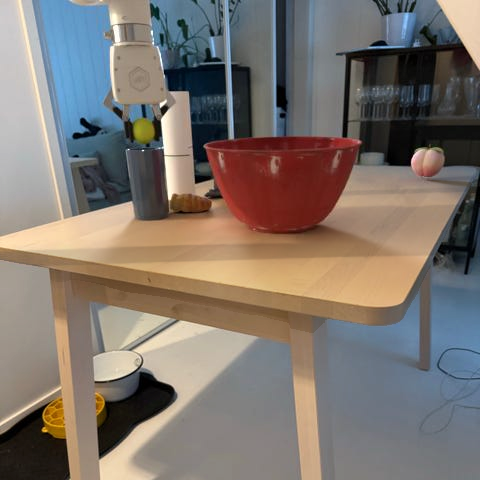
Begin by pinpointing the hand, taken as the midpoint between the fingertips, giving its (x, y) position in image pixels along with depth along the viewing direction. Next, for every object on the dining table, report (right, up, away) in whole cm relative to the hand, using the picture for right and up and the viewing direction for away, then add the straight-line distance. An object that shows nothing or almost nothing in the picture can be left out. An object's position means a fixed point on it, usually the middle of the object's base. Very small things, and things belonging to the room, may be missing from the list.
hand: (144, 140), depth 94 cm
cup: (0, -14, +6) cm, 16 cm away
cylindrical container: (+5, -5, +26) cm, 27 cm away
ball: (0, -1, 0) cm, 1 cm away
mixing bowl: (+28, -19, -4) cm, 34 cm away
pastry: (+8, -12, +12) cm, 18 cm away
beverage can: (+15, -4, +27) cm, 31 cm away
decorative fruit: (+76, +5, +44) cm, 88 cm away
